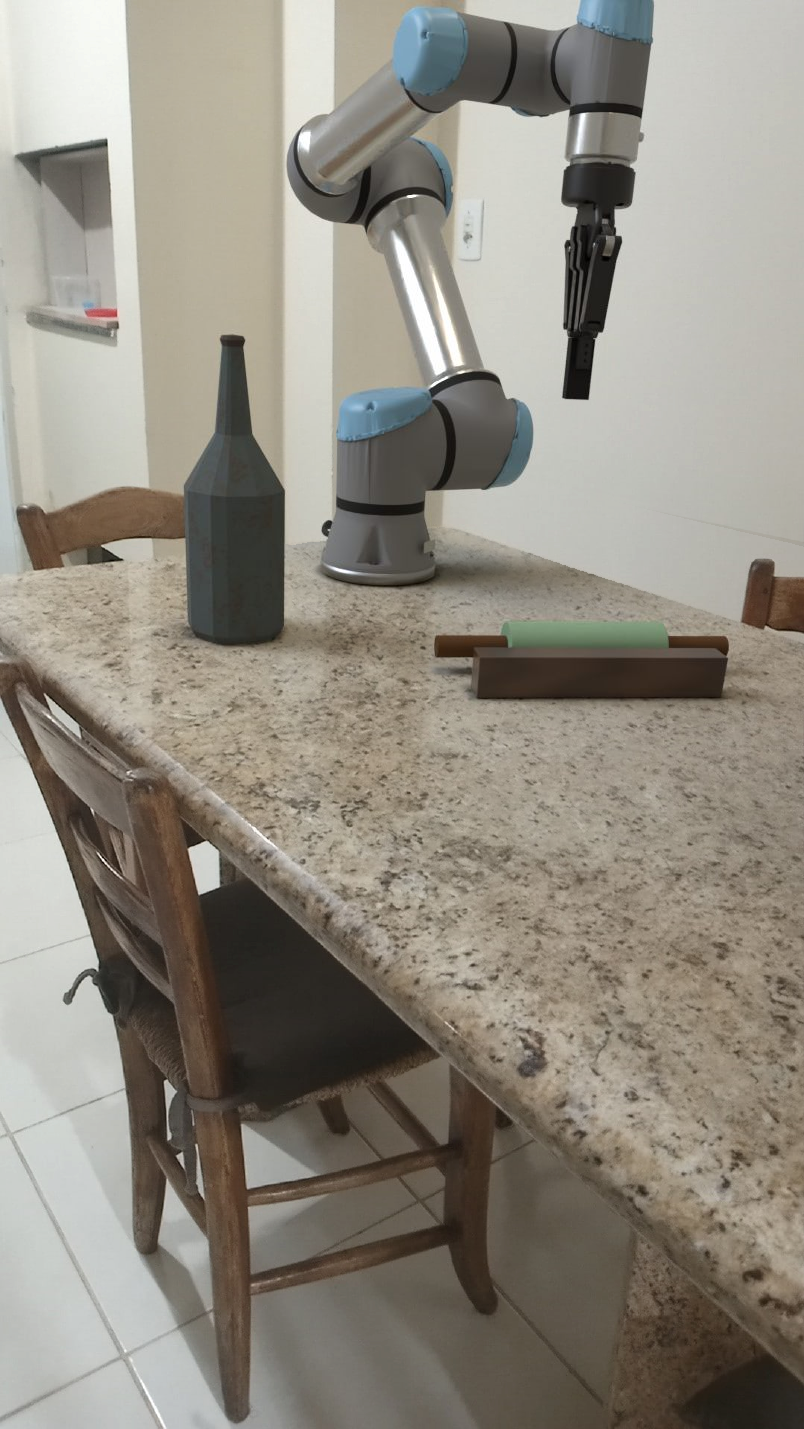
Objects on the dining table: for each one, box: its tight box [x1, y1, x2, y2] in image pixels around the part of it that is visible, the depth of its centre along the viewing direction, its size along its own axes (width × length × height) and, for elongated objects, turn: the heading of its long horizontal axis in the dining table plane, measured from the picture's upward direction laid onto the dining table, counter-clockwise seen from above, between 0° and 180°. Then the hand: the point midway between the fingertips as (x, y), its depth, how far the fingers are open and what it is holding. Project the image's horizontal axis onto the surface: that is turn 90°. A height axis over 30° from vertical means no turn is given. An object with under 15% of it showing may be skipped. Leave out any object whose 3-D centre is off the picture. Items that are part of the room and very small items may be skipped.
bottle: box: [183, 333, 286, 646], centre depth 104 cm, size 10×10×30 cm
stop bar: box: [470, 647, 729, 699], centre depth 97 cm, size 24×3×4 cm, turn 98°
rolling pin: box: [433, 620, 730, 659], centre depth 103 cm, size 30×5×5 cm
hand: (575, 398), depth 116 cm, fingers closed
